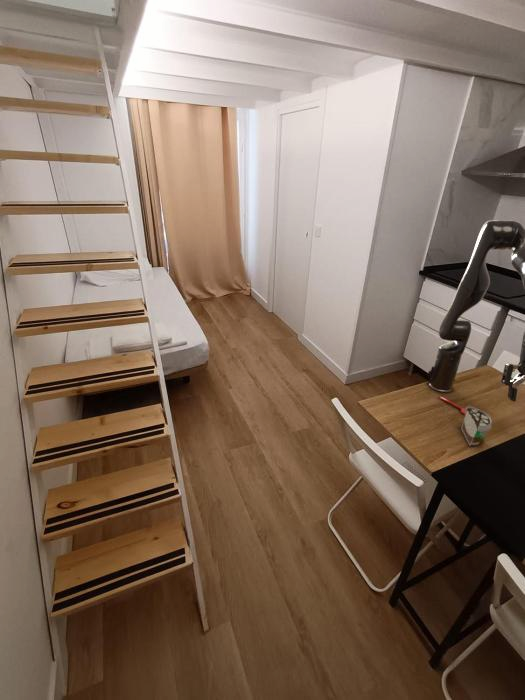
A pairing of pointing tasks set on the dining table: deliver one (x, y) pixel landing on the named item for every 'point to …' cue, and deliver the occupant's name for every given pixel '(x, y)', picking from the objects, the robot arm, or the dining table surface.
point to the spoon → (463, 410)
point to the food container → (475, 425)
